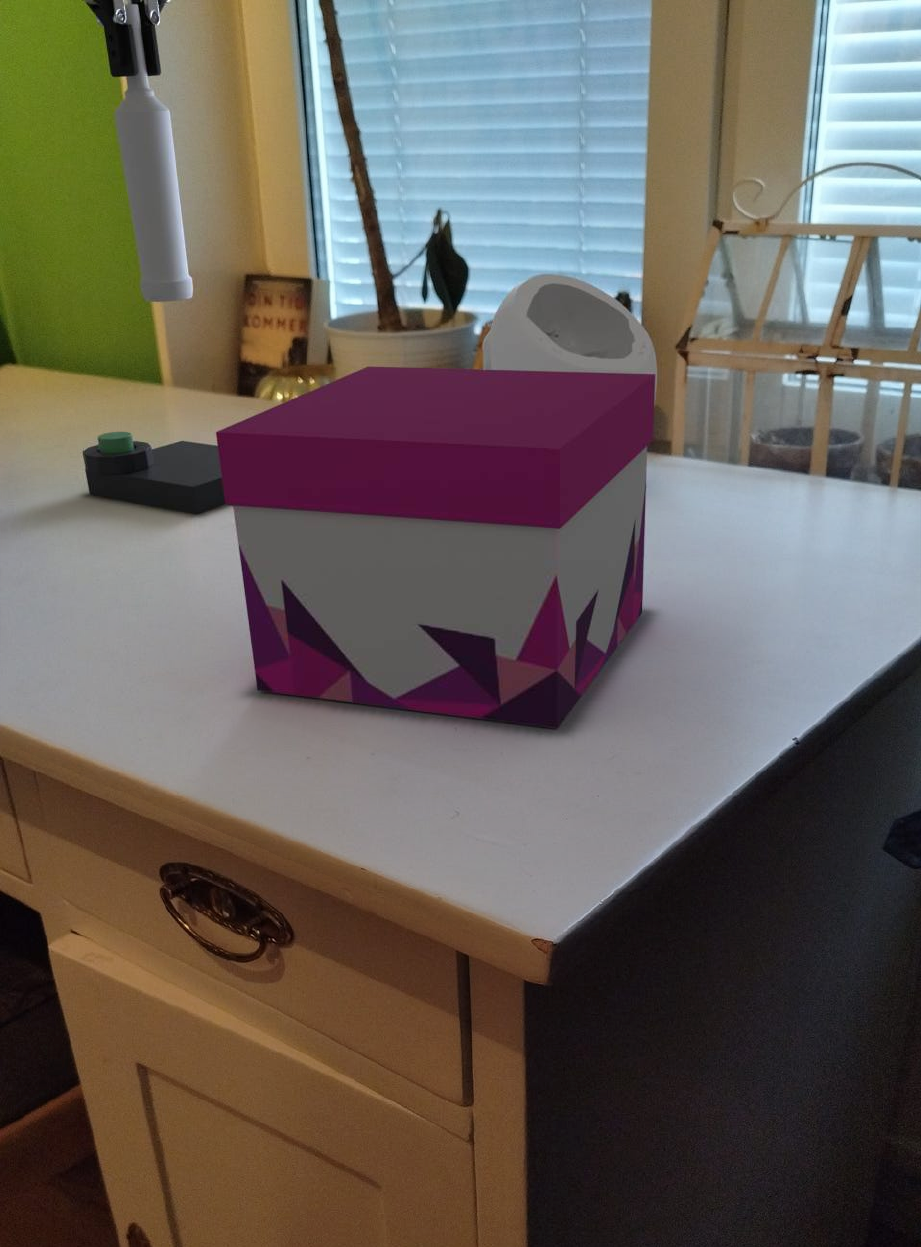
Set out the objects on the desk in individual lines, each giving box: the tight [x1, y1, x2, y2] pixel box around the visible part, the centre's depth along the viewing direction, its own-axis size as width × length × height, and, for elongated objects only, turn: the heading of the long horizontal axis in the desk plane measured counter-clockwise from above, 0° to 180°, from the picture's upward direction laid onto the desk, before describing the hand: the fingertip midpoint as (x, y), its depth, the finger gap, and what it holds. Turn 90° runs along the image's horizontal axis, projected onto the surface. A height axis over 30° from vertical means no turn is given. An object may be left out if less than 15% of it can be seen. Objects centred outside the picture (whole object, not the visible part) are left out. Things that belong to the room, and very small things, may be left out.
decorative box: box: [215, 366, 656, 729], centre depth 75 cm, size 19×19×15 cm
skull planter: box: [481, 273, 658, 406], centre depth 112 cm, size 14×20×19 cm
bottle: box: [113, 3, 194, 303], centre depth 121 cm, size 5×5×25 cm
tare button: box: [97, 431, 134, 454], centre depth 113 cm, size 3×3×2 cm
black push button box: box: [82, 440, 226, 515], centre depth 115 cm, size 14×13×4 cm
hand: (136, 74), depth 118 cm, fingers closed on bottle, 2 cm apart
